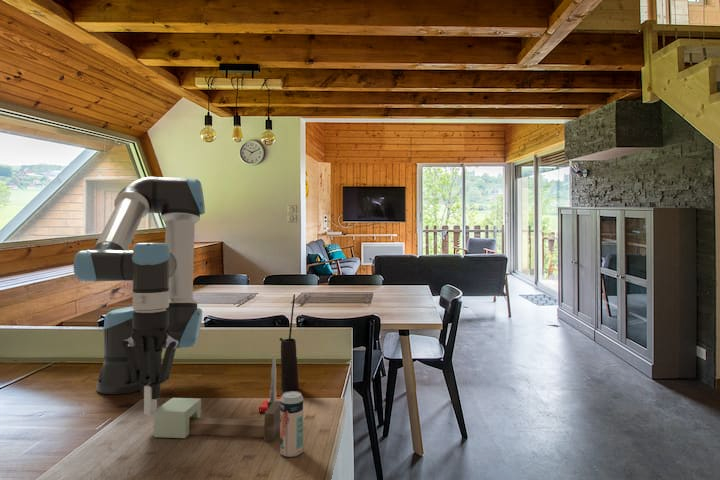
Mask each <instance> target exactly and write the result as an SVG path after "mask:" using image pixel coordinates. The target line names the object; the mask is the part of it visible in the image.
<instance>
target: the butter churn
mask: <svg viewBox="0 0 720 480" xmlns="http://www.w3.org/2000/svg"><path fill="white" fill-rule="evenodd" d="M292 298H293V299H292V307H291V315H290V323H289V335H288V338H287V339H283V338H282V337H280V338H279V341H280V377H281V378H280V381H281V382H280V384H281V385H280V389H281V391H282V392H283V393H285V392H290V391H297V392H298V390H299V389H300V385H299V382H300V381H299V371H298V357H297V342H296V339H295V338H291V337H292V331H293V330H292V327H293V319H294V307H295V299H296V294H293V297H292Z"/></svg>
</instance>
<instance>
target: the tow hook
mask: <svg viewBox="0 0 720 480" xmlns="http://www.w3.org/2000/svg"><path fill="white" fill-rule="evenodd" d="M271 363H272V366H271V373H270V376H271V377H270V390H269V398H266V399H264V400H265V401H264V400H263V401H261V404H260V405H259V406H258V412H259V411H260V410H261V411H267V410H268V408H269V407H270V405H271V404H272V403H273V402H278V401H276V399H281V397H282V396H277V395H278V391H277V366H276V365H277V364H276V363H277V357H276V356H275V357H272V362H271ZM267 399H270V401H269V402H268V401H266V400H267ZM261 405H262V406H261Z"/></svg>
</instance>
